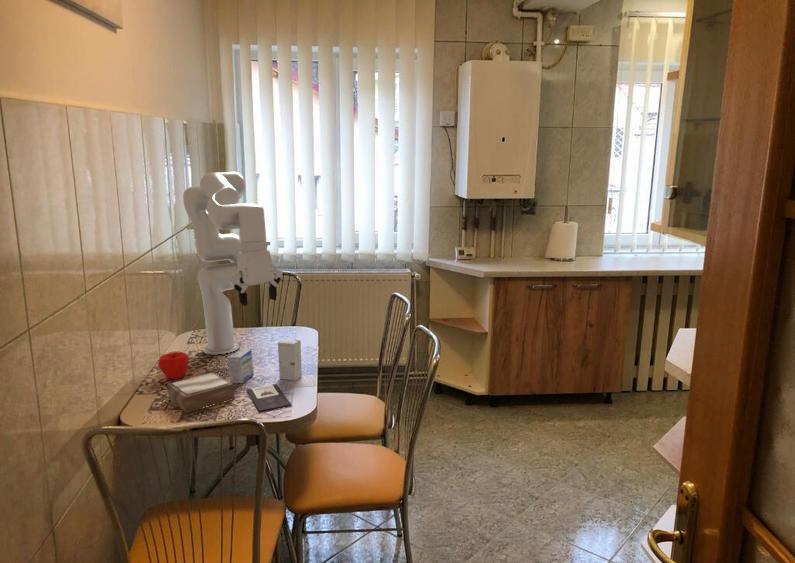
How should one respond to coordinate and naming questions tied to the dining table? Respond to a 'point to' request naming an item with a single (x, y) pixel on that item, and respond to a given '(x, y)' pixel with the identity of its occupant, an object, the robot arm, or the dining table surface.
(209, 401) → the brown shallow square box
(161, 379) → the dining table surface
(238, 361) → the medicine box
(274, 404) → the chocolate bar
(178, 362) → the apple
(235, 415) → the dining table surface
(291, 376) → the skincare box
